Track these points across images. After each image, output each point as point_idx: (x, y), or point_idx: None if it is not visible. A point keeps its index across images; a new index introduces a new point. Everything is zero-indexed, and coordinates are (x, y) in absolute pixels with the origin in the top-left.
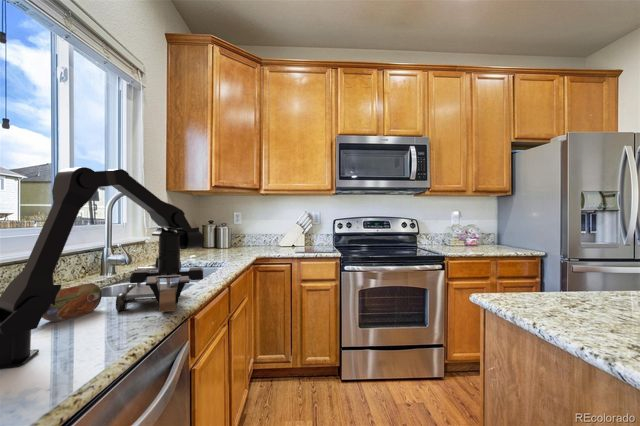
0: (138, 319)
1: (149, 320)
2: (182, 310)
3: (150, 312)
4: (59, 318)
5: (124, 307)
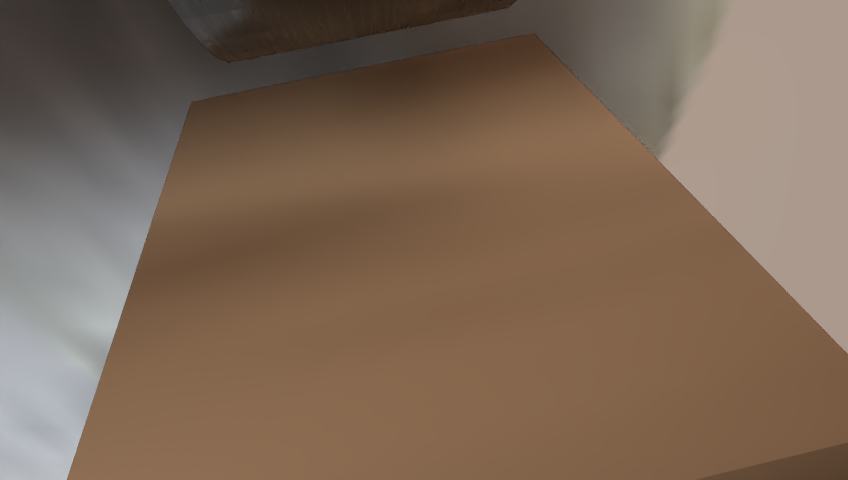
0: None
1: None
2: (632, 112)
3: (32, 192)
4: None
5: None
